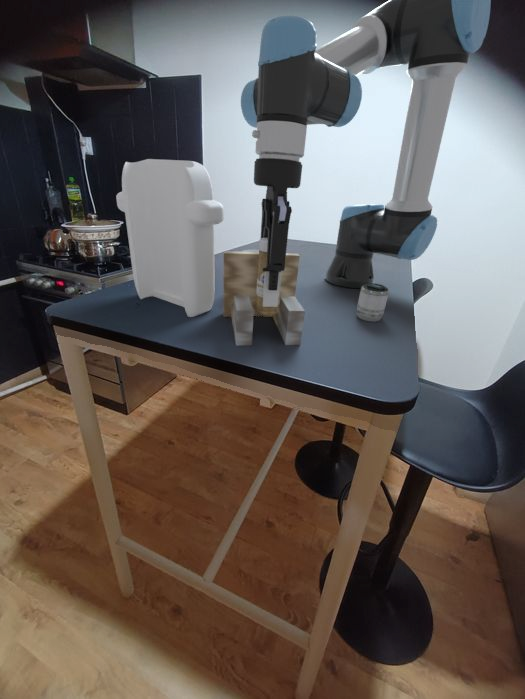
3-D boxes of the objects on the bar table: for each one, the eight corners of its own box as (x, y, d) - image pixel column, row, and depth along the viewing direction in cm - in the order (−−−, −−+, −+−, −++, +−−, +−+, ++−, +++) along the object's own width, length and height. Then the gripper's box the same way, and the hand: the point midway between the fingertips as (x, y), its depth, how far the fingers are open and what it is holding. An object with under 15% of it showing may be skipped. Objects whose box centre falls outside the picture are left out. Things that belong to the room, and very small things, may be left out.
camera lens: (360, 310, 81) (367, 280, 77) (385, 316, 78) (393, 285, 74) (351, 317, 76) (358, 285, 72) (377, 324, 73) (385, 291, 69)
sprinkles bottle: (253, 314, 59) (258, 240, 53) (256, 306, 63) (260, 236, 57) (278, 317, 59) (285, 242, 53) (279, 308, 63) (285, 238, 57)
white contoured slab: (236, 310, 75) (240, 164, 61) (203, 324, 67) (199, 159, 53) (159, 285, 88) (148, 160, 74) (124, 294, 80) (103, 155, 66)
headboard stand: (290, 313, 76) (297, 253, 69) (309, 344, 62) (319, 273, 55) (223, 313, 73) (223, 251, 66) (226, 345, 59) (227, 271, 52)
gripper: (248, 159, 56) (243, 286, 67) (263, 152, 41) (253, 318, 52) (289, 162, 57) (278, 287, 68) (318, 157, 42) (298, 319, 53)
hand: (267, 300), depth 60 cm, fingers closed on sprinkles bottle, 4 cm apart
